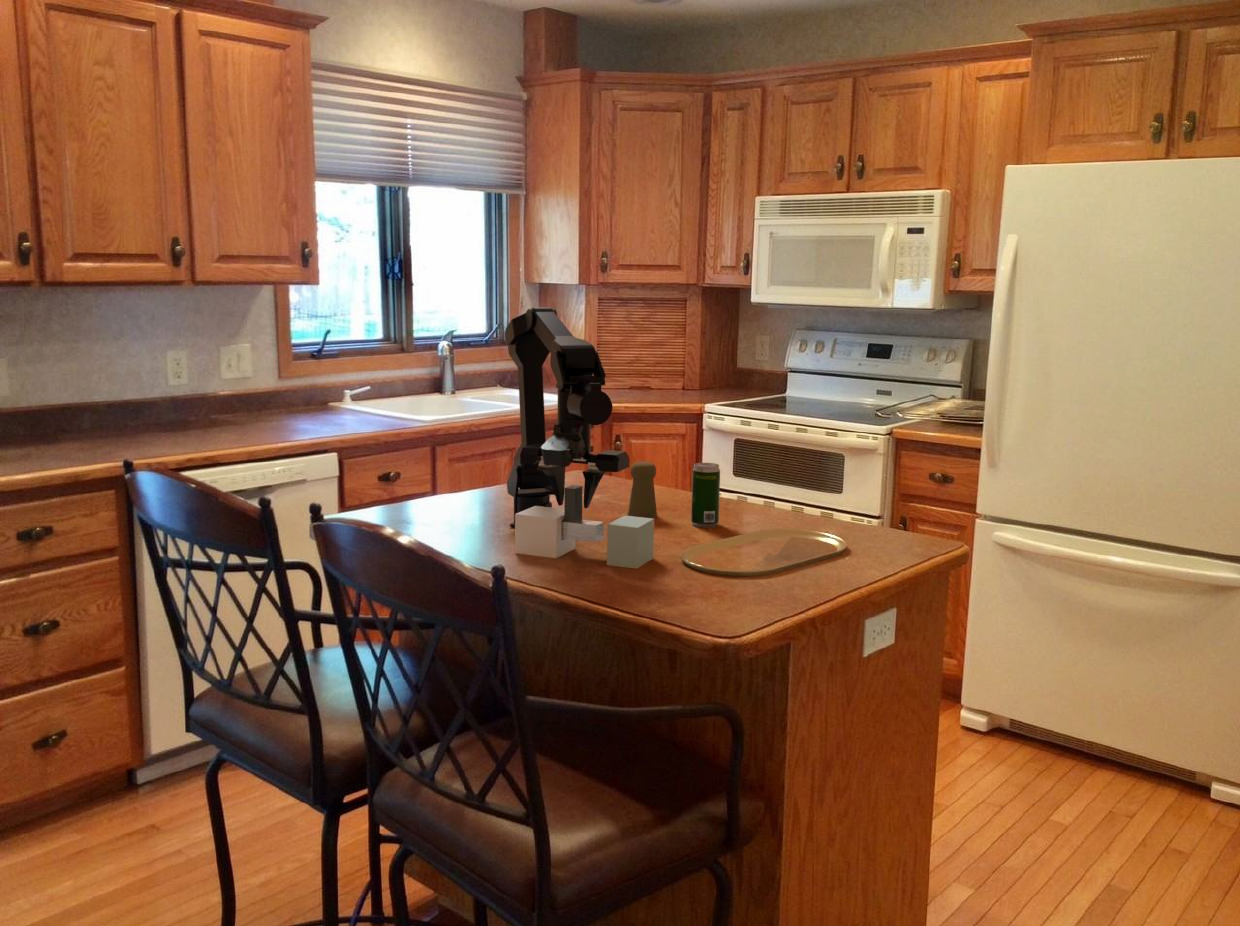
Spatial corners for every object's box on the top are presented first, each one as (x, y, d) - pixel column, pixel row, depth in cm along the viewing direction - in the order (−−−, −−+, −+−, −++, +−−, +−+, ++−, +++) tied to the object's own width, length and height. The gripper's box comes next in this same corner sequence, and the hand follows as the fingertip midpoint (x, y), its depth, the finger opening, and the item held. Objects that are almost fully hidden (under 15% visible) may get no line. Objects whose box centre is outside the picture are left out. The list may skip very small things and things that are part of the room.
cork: (654, 519, 217) (655, 465, 215) (625, 518, 218) (626, 464, 216) (659, 513, 223) (660, 460, 221) (630, 511, 224) (631, 459, 222)
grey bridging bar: (518, 533, 191) (518, 483, 189) (526, 529, 194) (526, 480, 192) (596, 542, 185) (596, 491, 184) (603, 538, 188) (604, 488, 186)
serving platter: (658, 563, 186) (658, 554, 186) (784, 532, 210) (785, 524, 210) (741, 586, 173) (742, 577, 172) (866, 550, 196) (867, 542, 196)
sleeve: (515, 553, 189) (515, 514, 188) (535, 543, 196) (535, 505, 195) (556, 558, 186) (556, 518, 185) (575, 548, 193) (575, 510, 192)
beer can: (723, 526, 212) (725, 466, 210) (699, 528, 210) (701, 468, 207) (709, 520, 217) (711, 461, 215) (686, 523, 214) (687, 463, 212)
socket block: (606, 564, 183) (607, 524, 181) (624, 554, 190) (624, 515, 188) (636, 568, 181) (637, 527, 179) (653, 558, 187) (654, 518, 186)
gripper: (503, 419, 181) (503, 510, 184) (605, 427, 174) (604, 521, 177) (533, 412, 191) (533, 498, 194) (631, 419, 184) (629, 508, 187)
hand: (573, 506), depth 188 cm, fingers open, 5 cm apart
